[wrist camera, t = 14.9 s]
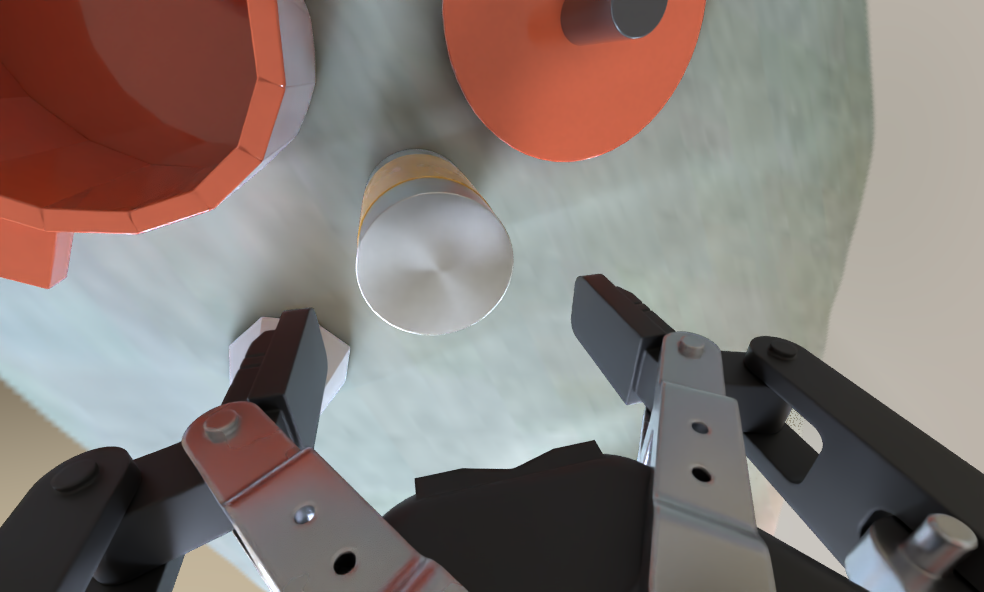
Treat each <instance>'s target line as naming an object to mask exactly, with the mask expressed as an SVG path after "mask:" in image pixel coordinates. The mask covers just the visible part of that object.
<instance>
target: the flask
mask: <svg viewBox="0 0 984 592" xmlns="http://www.w3.org/2000/svg"><path fill="white" fill-rule="evenodd" d="M279 320H280V318H271V317H261V318H260V319H259V320H258V321H256V322H255V323H254V324H253V325H252V326H251V327H250V328H249V329H247V330H246V331H245V332H244V333H243V334H242V335H241V336H240V337H238V338H237V339H236V340H235V341H234V342H233V343H232V344H231V345H229V366H230V385H231V383H232V381H233V379H234V377H235V375H236V373H237V371H238V370H239V369H240V365H241V363H242V361H243V359H244V358H245V354H246V352H247V350H248V348H249V346H250V344H251V343H252V342H253V341H254V340H255V339H256V338H257V337H258V336H260V335H261V334H262V333H263V332H264V331H268V330H275V329H276V327H277V324H278V322H279ZM319 327H320V331H321V335H322V338H323V342H324V346H325V350H326V354H327V361H328V372H327V378H326V384H325V389H324V395H323V400H322V406H321V411H320V415H321V414H322V412H323V411H324V409H325V408H326V407H327V405H328V404H329V403H330V402H331V400H332V399H333V398H334V396H335V395H336V394H337V392H338V391H339V390H340V388H341V387H342V385H343V384H344V383H345V381H346V375H347V368H348V360H349V353H350V346H348V345H347V344H346V343H344V342H343V341H341V340H340V339H338V338H337V337H336V336H334V335H333V334H331V333H330V332H329V331H327V330H326V329H324V328H323V327H321V326H320V325H319Z"/></svg>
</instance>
